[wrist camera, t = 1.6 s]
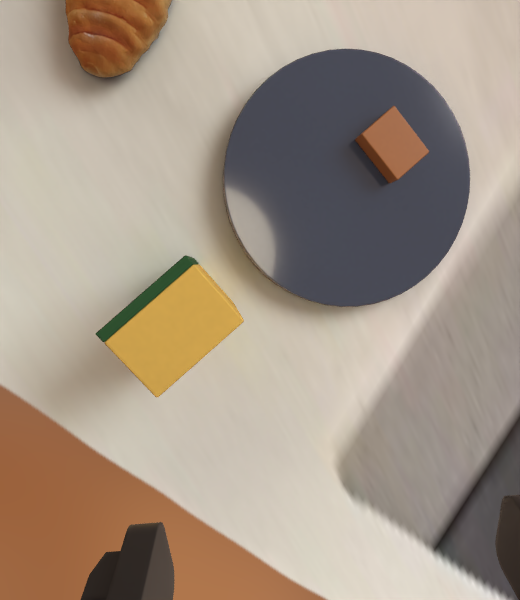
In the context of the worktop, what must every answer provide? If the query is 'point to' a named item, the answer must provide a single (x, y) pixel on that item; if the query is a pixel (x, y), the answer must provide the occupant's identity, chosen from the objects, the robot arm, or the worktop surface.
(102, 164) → the worktop surface
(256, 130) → the plate
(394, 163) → the orange slab
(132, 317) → the sponge
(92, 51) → the pastry
